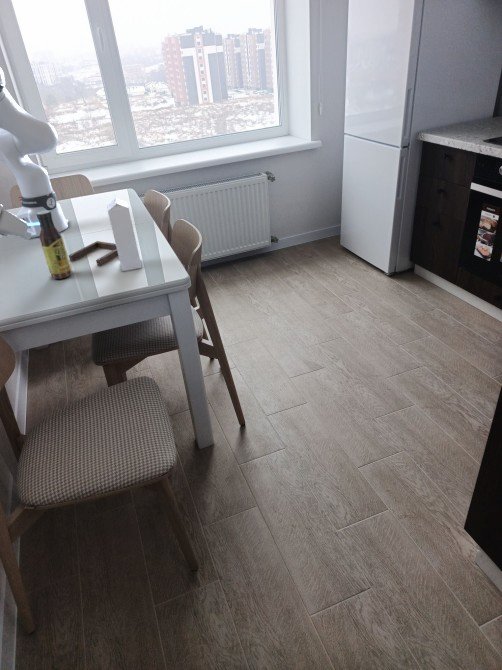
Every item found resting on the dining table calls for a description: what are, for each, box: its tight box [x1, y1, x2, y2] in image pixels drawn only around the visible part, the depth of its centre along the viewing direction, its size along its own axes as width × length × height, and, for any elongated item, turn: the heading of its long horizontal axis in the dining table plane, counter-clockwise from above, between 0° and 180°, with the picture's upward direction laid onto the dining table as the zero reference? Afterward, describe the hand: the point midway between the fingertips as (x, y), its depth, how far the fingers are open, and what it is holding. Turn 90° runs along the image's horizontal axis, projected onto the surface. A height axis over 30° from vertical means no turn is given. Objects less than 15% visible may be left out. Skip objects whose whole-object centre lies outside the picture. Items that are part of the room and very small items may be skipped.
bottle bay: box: [68, 240, 119, 267], centre depth 157 cm, size 13×13×2 cm
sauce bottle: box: [36, 210, 72, 280], centre depth 141 cm, size 7×6×20 cm
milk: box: [106, 195, 142, 272], centre depth 143 cm, size 6×6×22 cm
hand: (17, 235), depth 130 cm, fingers open, 8 cm apart
